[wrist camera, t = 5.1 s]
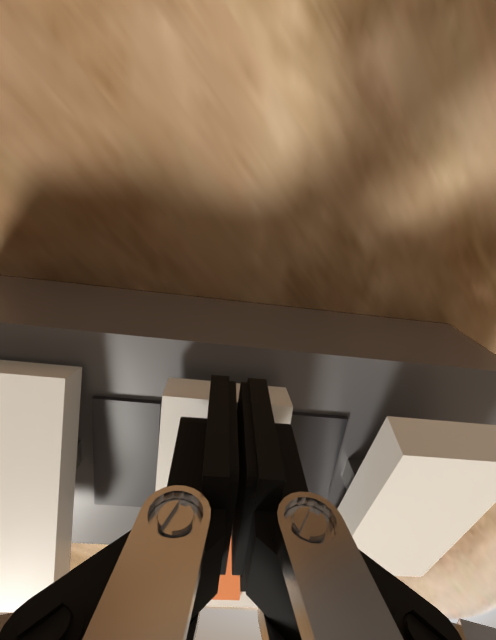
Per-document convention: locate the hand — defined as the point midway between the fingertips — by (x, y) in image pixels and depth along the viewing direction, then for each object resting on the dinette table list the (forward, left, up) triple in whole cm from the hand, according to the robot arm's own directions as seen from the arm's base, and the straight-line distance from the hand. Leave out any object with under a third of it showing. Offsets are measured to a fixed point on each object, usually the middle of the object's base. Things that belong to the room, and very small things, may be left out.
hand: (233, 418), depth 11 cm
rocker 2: (+4, +7, 0) cm, 8 cm away
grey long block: (+4, -2, -7) cm, 8 cm away
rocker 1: (+4, -7, 0) cm, 8 cm away
